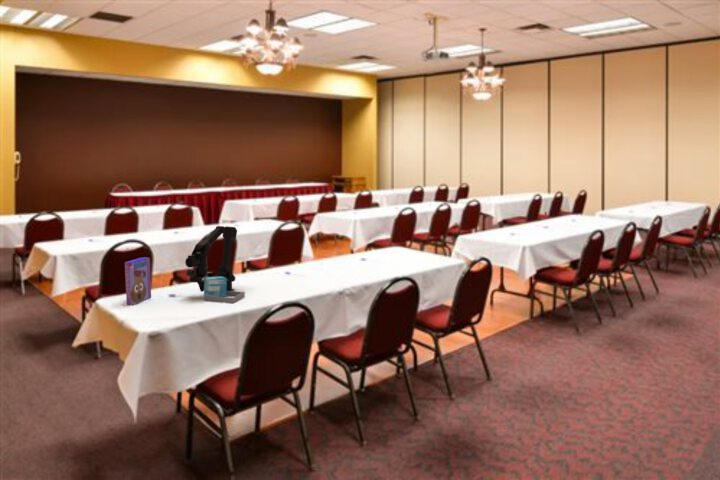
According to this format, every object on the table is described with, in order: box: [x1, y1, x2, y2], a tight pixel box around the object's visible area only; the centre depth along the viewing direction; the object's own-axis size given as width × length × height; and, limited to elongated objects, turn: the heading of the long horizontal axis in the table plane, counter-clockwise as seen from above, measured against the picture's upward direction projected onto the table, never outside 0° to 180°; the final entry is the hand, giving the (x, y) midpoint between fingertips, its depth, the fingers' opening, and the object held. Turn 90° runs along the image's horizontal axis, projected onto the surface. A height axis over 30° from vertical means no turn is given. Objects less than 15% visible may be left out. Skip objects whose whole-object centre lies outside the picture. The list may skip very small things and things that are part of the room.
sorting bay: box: [204, 290, 246, 304], centre depth 351 cm, size 15×18×3 cm
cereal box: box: [124, 256, 152, 306], centre depth 343 cm, size 17×5×24 cm, turn 168°
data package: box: [203, 276, 227, 298], centre depth 352 cm, size 12×4×12 cm, turn 129°
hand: (202, 291), depth 354 cm, fingers closed
